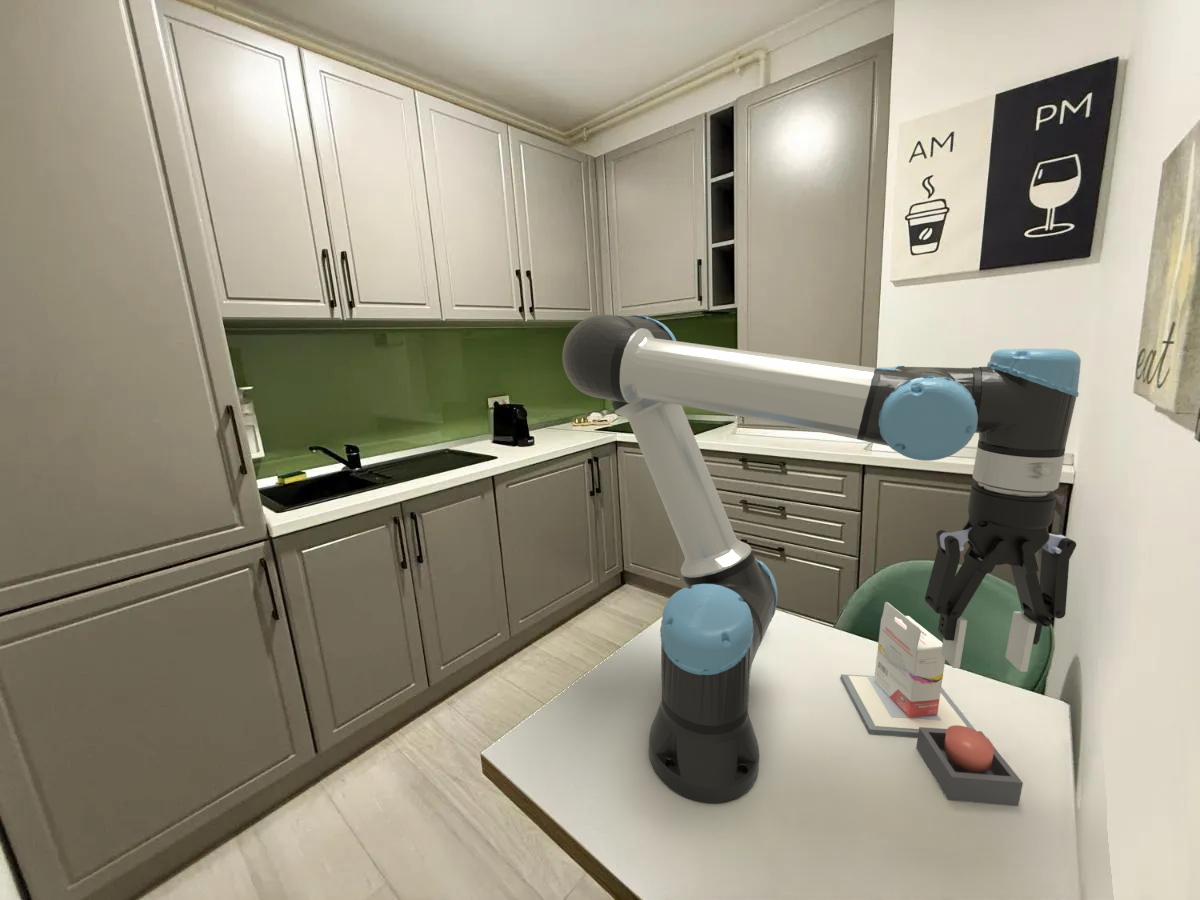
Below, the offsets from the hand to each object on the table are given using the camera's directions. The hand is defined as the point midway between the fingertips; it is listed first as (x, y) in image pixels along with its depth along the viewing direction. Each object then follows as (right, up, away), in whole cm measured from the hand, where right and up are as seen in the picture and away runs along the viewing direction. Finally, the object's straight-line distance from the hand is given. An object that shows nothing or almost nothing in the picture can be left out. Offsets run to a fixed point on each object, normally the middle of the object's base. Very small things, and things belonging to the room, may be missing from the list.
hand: (982, 662), depth 61 cm
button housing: (0, -17, +4) cm, 17 cm away
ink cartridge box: (0, -13, +16) cm, 21 cm away
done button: (0, -14, +3) cm, 14 cm away
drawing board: (0, -14, +16) cm, 21 cm away
